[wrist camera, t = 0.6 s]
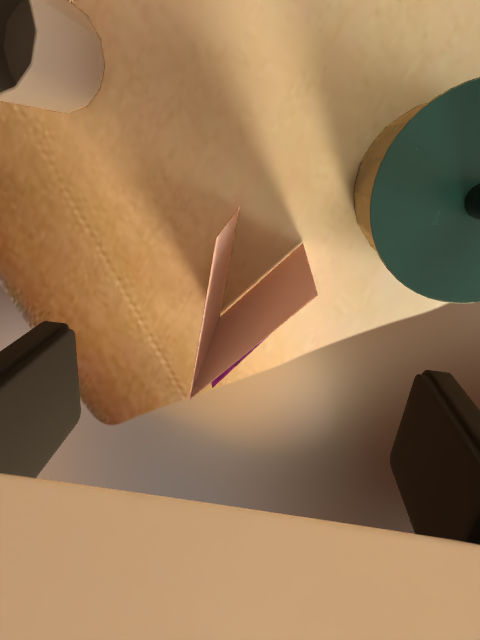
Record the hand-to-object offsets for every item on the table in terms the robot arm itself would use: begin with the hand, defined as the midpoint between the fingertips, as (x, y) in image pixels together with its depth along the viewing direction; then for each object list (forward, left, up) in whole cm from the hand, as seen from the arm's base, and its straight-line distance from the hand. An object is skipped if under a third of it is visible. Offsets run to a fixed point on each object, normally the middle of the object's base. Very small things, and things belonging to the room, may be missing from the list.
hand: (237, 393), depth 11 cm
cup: (+7, -22, -28) cm, 36 cm away
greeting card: (+4, +1, -28) cm, 29 cm away
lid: (-14, +5, -20) cm, 25 cm away
